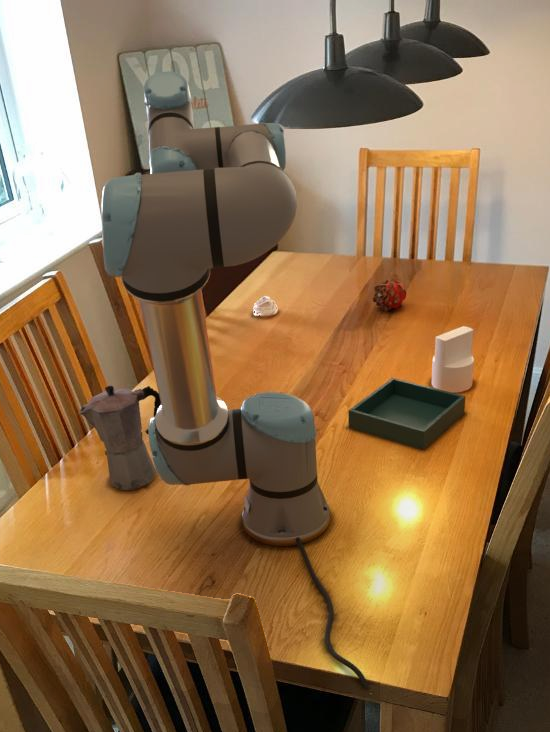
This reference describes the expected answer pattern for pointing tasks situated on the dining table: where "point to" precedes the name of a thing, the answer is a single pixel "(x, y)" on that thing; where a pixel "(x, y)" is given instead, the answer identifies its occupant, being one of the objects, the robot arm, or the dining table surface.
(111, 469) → the moka pot
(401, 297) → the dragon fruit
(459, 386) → the cylinder with rectangular tab
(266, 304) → the white rounded lump
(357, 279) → the dining table surface
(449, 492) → the dining table surface
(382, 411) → the bin
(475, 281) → the dining table surface
